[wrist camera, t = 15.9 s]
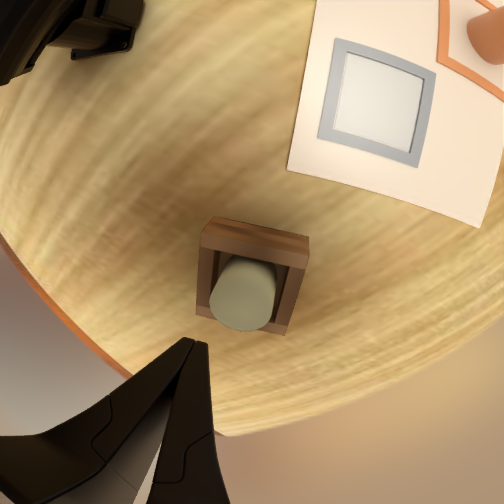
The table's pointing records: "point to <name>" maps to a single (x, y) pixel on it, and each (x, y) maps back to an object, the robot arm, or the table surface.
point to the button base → (258, 247)
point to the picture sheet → (402, 104)
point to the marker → (488, 35)
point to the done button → (244, 293)
